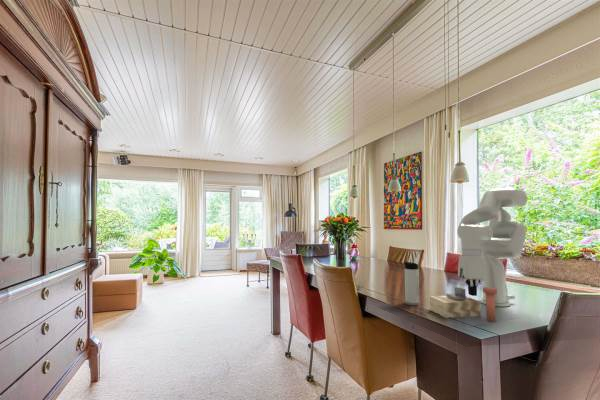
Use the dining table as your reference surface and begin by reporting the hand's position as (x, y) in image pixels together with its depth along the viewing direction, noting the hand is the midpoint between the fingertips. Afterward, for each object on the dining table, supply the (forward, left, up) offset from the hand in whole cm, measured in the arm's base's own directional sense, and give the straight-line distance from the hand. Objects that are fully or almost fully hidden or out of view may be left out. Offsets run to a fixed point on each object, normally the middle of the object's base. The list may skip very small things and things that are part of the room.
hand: (472, 295), depth 130 cm
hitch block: (+9, 0, -7) cm, 11 cm away
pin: (+1, +11, -7) cm, 13 cm away
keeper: (+8, 0, -1) cm, 8 cm away
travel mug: (+20, -16, -8) cm, 27 cm away
